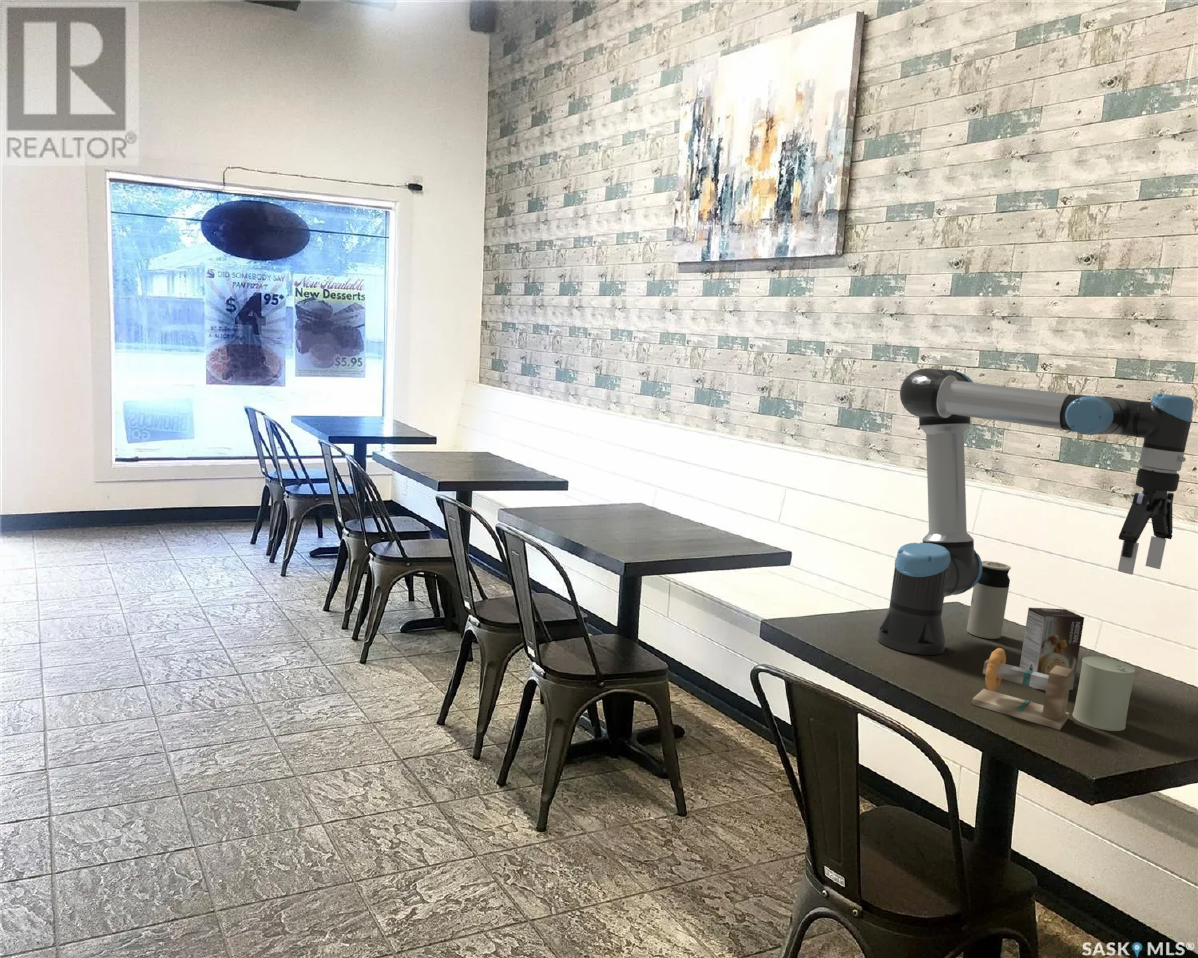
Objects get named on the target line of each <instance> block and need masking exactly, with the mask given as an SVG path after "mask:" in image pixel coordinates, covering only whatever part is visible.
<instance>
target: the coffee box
mask: <svg viewBox="0 0 1198 958" xmlns="http://www.w3.org/2000/svg"><path fill="white" fill-rule="evenodd" d="M1027 609H1028V610H1027V617H1026V623H1025V629H1024V630H1025V631H1024V637H1023V642H1022V643H1023V644H1022V648H1021V657H1020V663H1019V668H1023V669H1027V670H1031V671H1034V672H1038V673H1042V674H1046V675H1049V672H1050V671H1051V670H1052V669H1053V668H1054V667H1055V666H1056V665H1057V666H1061V667H1065V668H1069V669H1073V673H1072V679H1071V684H1070V690H1069V691H1073V690H1074V684H1075V679H1076V672H1077V665H1078V659H1079V653H1080V647H1081V641H1082V635H1083V629H1084V624H1085V623H1084V622H1085V621H1084V620H1085V617H1084V616H1082V615H1080V614H1077V613H1075V612H1073V611H1071V610H1068V609H1066V608H1065V609H1064V608H1050V607H1049V608H1045V607H1028V608H1027ZM1031 689H1034V690H1039V689H1038V688H1034V687H1031Z"/></svg>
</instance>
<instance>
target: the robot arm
mask: <svg viewBox="0 0 1198 958" xmlns="http://www.w3.org/2000/svg"><path fill="white" fill-rule="evenodd" d="M899 399H900V402H901V404H902V407H903V408H904V409H905V410H906V411H907V412H908V413H909V414H911V415H912V416H915V417H917V418H918V425H919V428H920V429H921V430H922V431H923V432H924V433H925V439H926V440H925V442H926V444H925V445H926V474H927V475H926V476H927V479H926V480H927V503H928V504H927V506H928V507H927V508H928V509H927V510H928V511H927V512H928V533H927V534H926V535H925V536H924V537H923V538H922V542H910V543H906V544H903V545H901V546H900V547H899V549H898V550H897V553H896V558H894V559H895V560H894V571H893V576H892V585H891V591H890V601H889V606H888V609H887V611H886V613H885V616H884V618H883V619H882V621H881V623H880V625H879V627H878V630H877V634H876V635H877V637H876V640H877V641H878V642H879V643H881V645H884V646H886V647H888V648H890V649H892V650H896V651H899V652H903V653H909V654H913V655H920V656H921V655H923V656H935V655H941V654H943V653H944V652H945V651H946V650H945V648H946V636H945V635H946V634H945V632H944V625H943V619H942V616H943V615H942V614H943V608H944V601H945V598H946V597H950V596H953V595H954V596H956V595H961V594H964V593H966V592H968V591H969V590H971V589H973V587H974V586H975V585H976V584H977V583H978V581H979V579H980V577H981V574H982V561H983V560H982V559H981V555H979V553H978V552H976V550H975V547H974V546H975V545H974V544H975V543H974V541H975V540H974V539H975V538H973V537H972V536H971V535H970V534H969V533H968V531H967V500H966V499H967V498H966V496H967V495H966V465H965V461H966V460H965V459H966V458H965V432H966V430H967V429H968V428H970V426H971V418H977V419H983V420H992V421H998V422H1004V423H1005V422H1006V423H1010V424H1017V425H1018V424H1019V425H1027V426H1034V427H1039V428H1040V427H1042V428H1046V429H1055V430H1061V431H1067V432H1074V433H1077V434H1079V435H1084V436H1085V435H1088V436H1094V435H1118V436H1125V437H1126V436H1127V437H1135V438H1141V439H1143V444H1142V449H1141V453H1140V457H1139V463H1138V465H1139V466H1141V467H1140V468H1139V469H1138V470H1137V473H1136V478H1135V485H1136V486H1137V487H1139V488H1142V489H1143V490H1142V491H1141V493H1139V492H1135V493H1134V494H1133V498H1132V503H1131V505H1130V507H1129V510H1128V512H1127V515H1126V518H1125V520H1124V522H1123V524H1122V527H1121V530H1120V532H1119V535H1118V540H1121V541H1122V547H1121V552H1120V558H1119V562H1118V567H1117V572H1120V573H1124V574H1129V575H1133V574H1134V571H1135V565H1136V560H1137V555H1138V550H1139V545H1140V543H1139V542H1138V541H1139V539H1140V538H1141V535H1142V533H1143V532H1144V530H1145V528H1146V526H1147V524H1148V522H1149V520H1150V519H1151V524H1152V525H1151V527H1152V531H1153V532H1152V533H1153V535H1152V536H1150V541H1149V547H1148V551H1147V555H1146V559H1145V560H1146V561H1145V567H1148V568H1152V569H1153V568H1154V569H1157V570H1161V567H1162V563H1163V562H1162V561H1163V558H1164V554H1165V547H1166V543H1167V539H1168V540H1172V538H1173V502H1174V498H1175V494H1174V493H1175V492H1176V491H1177V490H1178V487H1179V482H1180V477H1181V476H1180V474H1179V473H1178V472H1180V471H1181V470H1182V466H1183V463H1184V462H1186V457H1184V456H1185V453H1186V447H1187V442H1188V438H1189V437H1188V436H1189V434H1190V433H1189V432H1190V429H1191V424H1192V422H1193V419H1192V418H1193V410H1194V405H1195V404H1194V400H1193V399H1192V398H1191V397H1190V396H1184V395H1183V396H1181V395H1176V394H1165V393H1155V394H1153V395H1152V398H1151V399H1150V401H1140V400H1135V399H1125V398H1118V397H1113V396H1101V395H1100V396H1099V395H1098V396H1097V395H1095V396H1093V395H1082V394H1073V393H1072V394H1071V393H1064V392H1057V391H1049V390H1040V389H1030V388H1029V389H1028V388H1020V387H1016V386H1015V387H1014V386H1013V387H1012V386H1004V385H995V384H988V383H987V384H986V383H979V382H974V381H973V380H972V379H971V378H970V377H969V376H968V375H967V374H965V373H962V372H959V371H957V370H953V369H938V368H931V367H930V368H927V367H926V368H920V369H917V370H915V371H912V372H910V374H908V375H907V376H906V377H905V378H904V380H903V381H902V384H901V387H900V391H899Z"/></svg>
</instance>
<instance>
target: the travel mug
mask: <svg viewBox="0 0 1198 958" xmlns="http://www.w3.org/2000/svg"><path fill="white" fill-rule="evenodd" d="M981 561H982V574H981V577H980V579H979V581H978V583H977V584H976V585H975V586H974V587H973V588H972V594H971V600H970V601H971V602H970V607H969V614H968V620H967V626H966V632H967V633H969V634H970V635H972V636H975V637H977V638H980V639H981V638H982V639H986V640H987V639H988V640H998V639H1000V638H1002V631H1003V626H1004V620H1005V612H1006V607H1007V601H1008V595H1009V589H1010V584H1011V583H1010V581H1011V578H1010V577H1009V572H1010V570H1011V569H1012V567H1011V566H1010V565H1008V564H1006V563H1002V562H999V561H992V560H981Z"/></svg>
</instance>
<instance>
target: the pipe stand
mask: <svg viewBox="0 0 1198 958" xmlns="http://www.w3.org/2000/svg"><path fill="white" fill-rule="evenodd" d="M989 659H990V658H987V659H986V660H985V661H984V663H983V668H982V674H983V675H986V670H987V664H988V661H989ZM1072 673H1073V669H1069V668H1065V667H1061V666H1057V665H1056V666H1055V667H1054V668H1053V669H1052V670H1051V671H1050V672H1049V675H1046V674H1042V673H1038V672H1034V671H1031V670H1027V669H1023V668H1020V666H1015V665H1011V664H1004V663H1000V664H999V667H998V672H997V678H1001V679H1002V680H1006V681H1008V682H1013V683H1016V684H1020V685H1023V686H1026V687H1031V688H1032V687H1034V688H1038V689H1037V690H1042V691H1045V696H1044V702H1043V704H1040V703H1036V702H1033V701H1031V700H1028V699H1022V698H1019V697H1015V696H1011V695H1008V694H1004V693H1000V692H997V691H995V690H989V689H988V688H987V689H986V688H982V689H981V690H980V691H979V692H978V693H977V694H976V695H975V696H974V697H972V701H971V705H972V706H975V707H976V706H977V707H978V708H982V709H986V710H990V711H994V712H997V713H1000V714H1002V715H1003V714H1004V715H1006V716H1011V717H1013V718H1018V719H1021V720H1024V721H1027V722H1031V723H1035V724H1036V725H1037V724H1038V725H1041V726H1046V727H1049V728H1052V729H1054V730H1057V731H1058V730H1059V731H1060V730H1061V729H1062V728H1063V726H1064V725H1065V724H1066V723H1067V721H1068V720H1069V718H1070V717H1069V716H1070V712H1068V711H1067V707H1068V701H1069V695H1070V691H1071V690H1070V684H1071V679H1072ZM1034 688H1033V689H1034Z"/></svg>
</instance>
